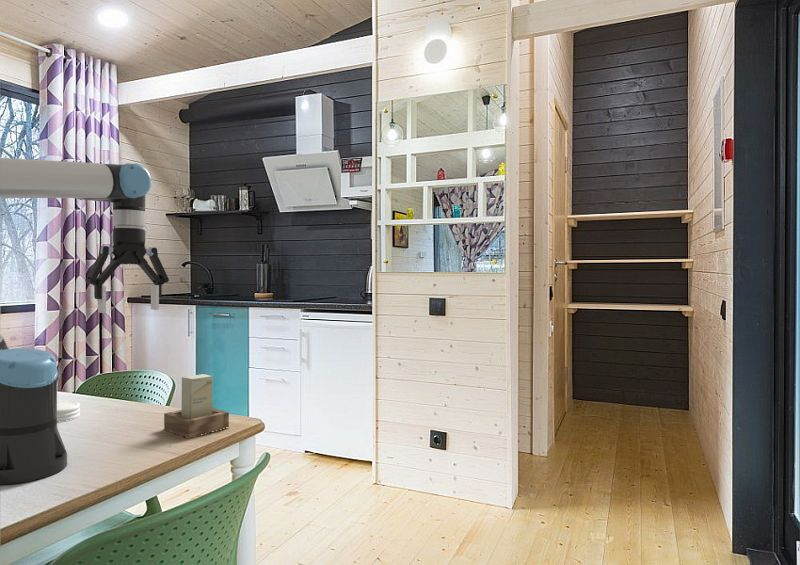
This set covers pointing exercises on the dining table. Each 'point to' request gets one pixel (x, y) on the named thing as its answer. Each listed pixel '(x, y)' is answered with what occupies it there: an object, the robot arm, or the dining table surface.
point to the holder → (195, 423)
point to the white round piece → (67, 410)
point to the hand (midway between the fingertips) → (129, 311)
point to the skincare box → (196, 396)
